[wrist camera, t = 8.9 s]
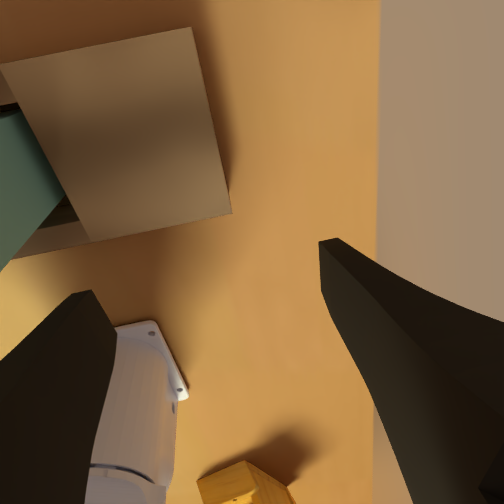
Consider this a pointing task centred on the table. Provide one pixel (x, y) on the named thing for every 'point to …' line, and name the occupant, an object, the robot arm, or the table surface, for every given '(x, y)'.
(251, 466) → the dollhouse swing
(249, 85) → the table surface
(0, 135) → the teal peg
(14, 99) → the walnut rail
